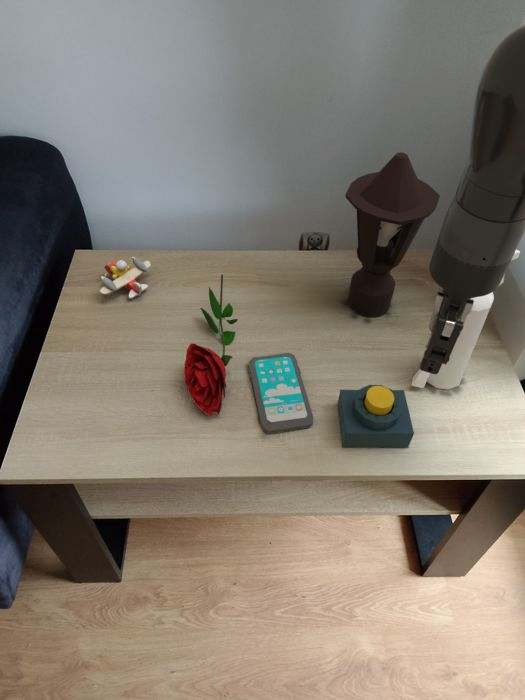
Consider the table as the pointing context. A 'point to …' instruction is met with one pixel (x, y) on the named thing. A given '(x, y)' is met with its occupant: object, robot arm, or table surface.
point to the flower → (209, 362)
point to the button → (379, 400)
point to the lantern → (385, 229)
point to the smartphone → (280, 393)
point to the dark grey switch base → (373, 421)
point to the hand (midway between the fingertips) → (434, 346)
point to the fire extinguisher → (460, 346)
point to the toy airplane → (124, 277)
